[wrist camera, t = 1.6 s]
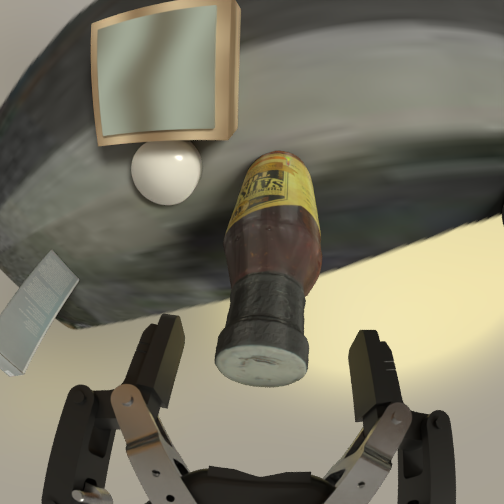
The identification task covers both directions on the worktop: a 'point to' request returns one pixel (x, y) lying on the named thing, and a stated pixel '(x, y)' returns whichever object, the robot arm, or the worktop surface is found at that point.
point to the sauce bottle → (270, 273)
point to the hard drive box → (33, 312)
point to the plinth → (167, 72)
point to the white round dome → (166, 170)
